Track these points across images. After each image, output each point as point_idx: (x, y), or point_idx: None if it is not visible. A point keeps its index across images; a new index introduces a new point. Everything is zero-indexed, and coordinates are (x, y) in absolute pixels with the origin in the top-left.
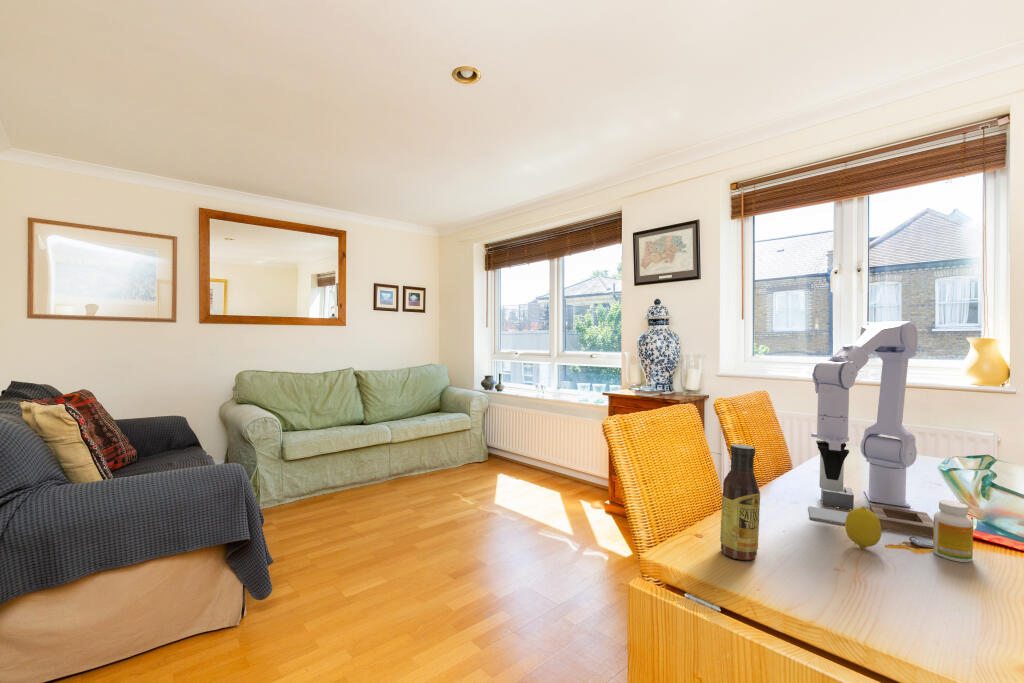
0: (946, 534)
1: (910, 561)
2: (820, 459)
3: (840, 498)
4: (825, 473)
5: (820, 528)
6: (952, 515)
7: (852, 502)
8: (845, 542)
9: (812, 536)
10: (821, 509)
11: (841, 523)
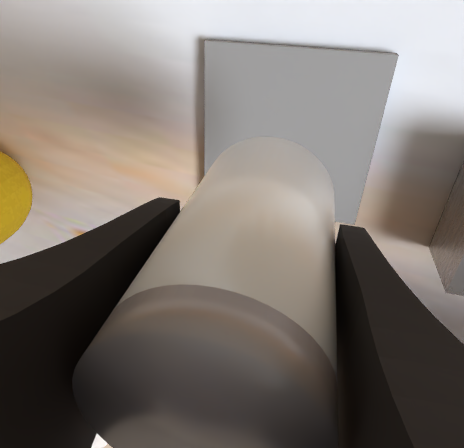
0: None
1: (23, 253)
2: (203, 254)
3: (459, 230)
4: (136, 208)
5: (116, 71)
6: None
7: (439, 265)
8: (34, 134)
9: (5, 25)
10: (356, 114)
11: (206, 161)
